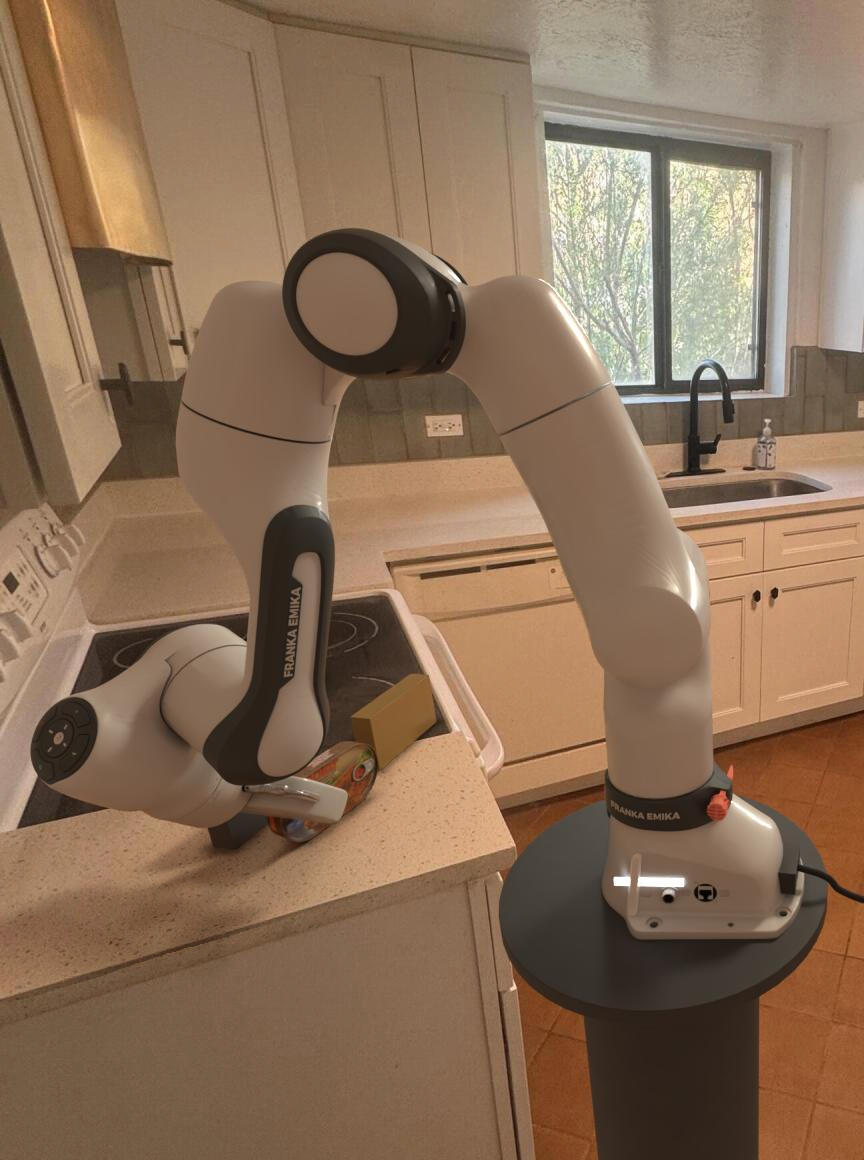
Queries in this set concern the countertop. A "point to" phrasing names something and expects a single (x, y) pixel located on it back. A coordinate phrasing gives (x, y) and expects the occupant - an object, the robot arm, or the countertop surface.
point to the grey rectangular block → (236, 830)
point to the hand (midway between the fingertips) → (295, 807)
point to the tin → (333, 784)
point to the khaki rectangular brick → (396, 718)
